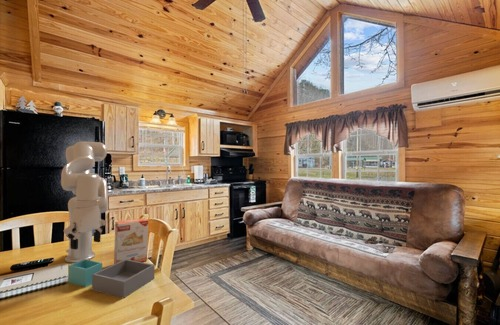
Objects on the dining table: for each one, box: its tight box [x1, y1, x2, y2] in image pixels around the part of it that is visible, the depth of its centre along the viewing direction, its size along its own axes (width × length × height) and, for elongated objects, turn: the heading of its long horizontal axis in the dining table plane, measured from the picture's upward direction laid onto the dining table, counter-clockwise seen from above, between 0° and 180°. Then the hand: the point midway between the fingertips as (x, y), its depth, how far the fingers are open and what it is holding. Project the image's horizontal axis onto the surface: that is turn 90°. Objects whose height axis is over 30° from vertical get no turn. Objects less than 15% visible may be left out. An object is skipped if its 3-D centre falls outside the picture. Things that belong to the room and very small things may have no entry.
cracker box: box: [113, 218, 149, 265], centre depth 119 cm, size 14×6×21 cm, turn 129°
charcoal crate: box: [91, 259, 156, 299], centre depth 99 cm, size 16×16×6 cm
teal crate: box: [67, 259, 103, 288], centre depth 101 cm, size 10×7×7 cm
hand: (86, 245), depth 100 cm, fingers open, 9 cm apart
